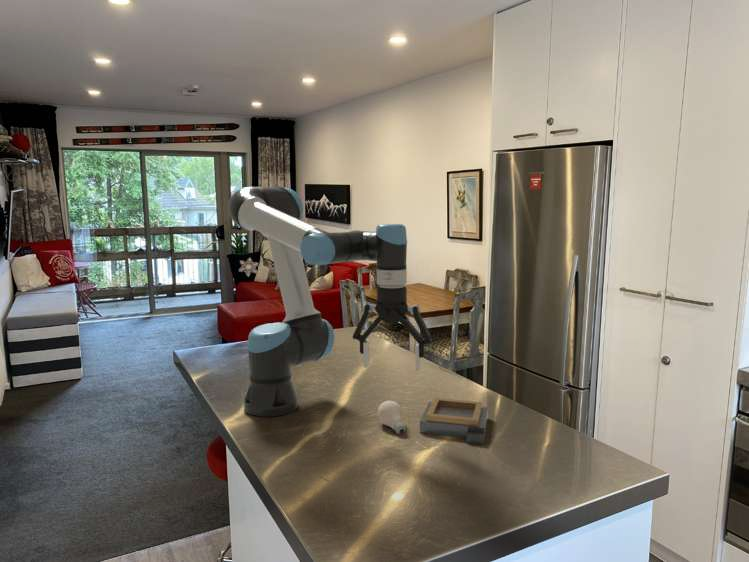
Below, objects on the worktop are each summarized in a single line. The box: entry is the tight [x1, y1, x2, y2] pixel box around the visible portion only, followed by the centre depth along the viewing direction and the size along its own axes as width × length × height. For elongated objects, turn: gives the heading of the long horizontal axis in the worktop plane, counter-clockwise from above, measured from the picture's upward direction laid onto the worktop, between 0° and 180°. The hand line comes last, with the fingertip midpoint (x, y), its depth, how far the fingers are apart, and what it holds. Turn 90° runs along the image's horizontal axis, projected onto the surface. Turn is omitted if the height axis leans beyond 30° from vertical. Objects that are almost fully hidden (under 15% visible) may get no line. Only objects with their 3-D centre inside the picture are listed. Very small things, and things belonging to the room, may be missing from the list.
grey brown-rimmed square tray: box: [419, 397, 489, 445], centre depth 145 cm, size 16×21×4 cm
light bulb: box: [376, 400, 407, 435], centre depth 143 cm, size 7×7×11 cm
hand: (391, 367), depth 142 cm, fingers open, 13 cm apart
